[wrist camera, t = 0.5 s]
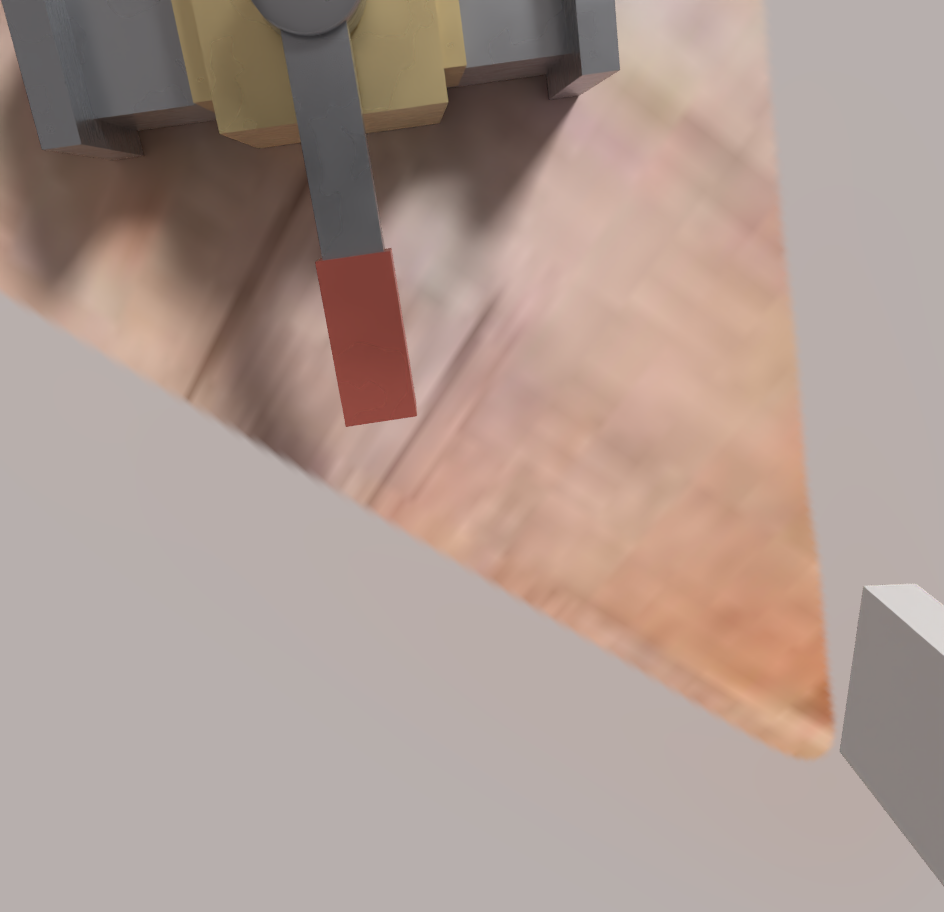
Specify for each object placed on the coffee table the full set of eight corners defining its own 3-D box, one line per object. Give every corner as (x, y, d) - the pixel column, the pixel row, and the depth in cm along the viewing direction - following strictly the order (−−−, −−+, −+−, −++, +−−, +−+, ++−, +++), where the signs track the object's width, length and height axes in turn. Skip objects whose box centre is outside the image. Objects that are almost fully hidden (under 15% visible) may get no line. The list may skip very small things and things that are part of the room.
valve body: (62, -38, 30) (-37, -108, 23) (561, -104, 30) (605, -190, 24) (114, 168, 32) (36, 158, 25) (580, 103, 32) (625, 77, 26)
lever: (244, -69, 24) (226, -98, 21) (356, -84, 24) (351, -114, 21) (335, 412, 28) (328, 431, 25) (431, 398, 28) (433, 416, 26)
